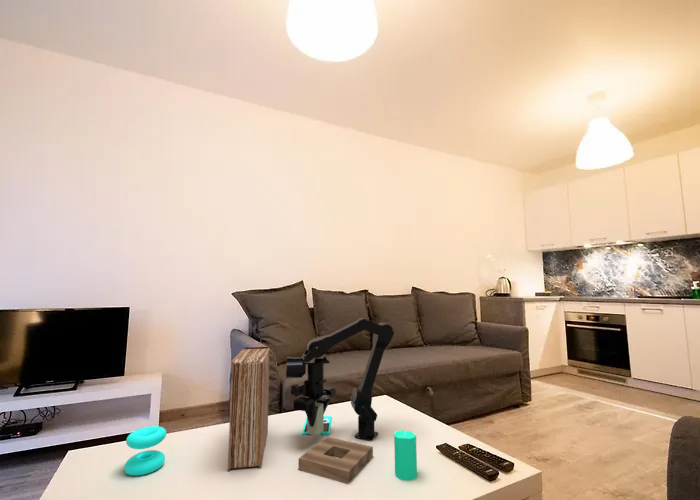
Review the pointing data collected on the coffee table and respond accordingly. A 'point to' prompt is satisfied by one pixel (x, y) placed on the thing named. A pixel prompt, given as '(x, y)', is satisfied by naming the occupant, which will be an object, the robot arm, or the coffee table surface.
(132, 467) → the donuts
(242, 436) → the book
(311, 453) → the walnut well block
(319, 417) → the sage peg
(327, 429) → the handheld game console
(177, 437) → the coffee table surface
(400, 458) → the candle
